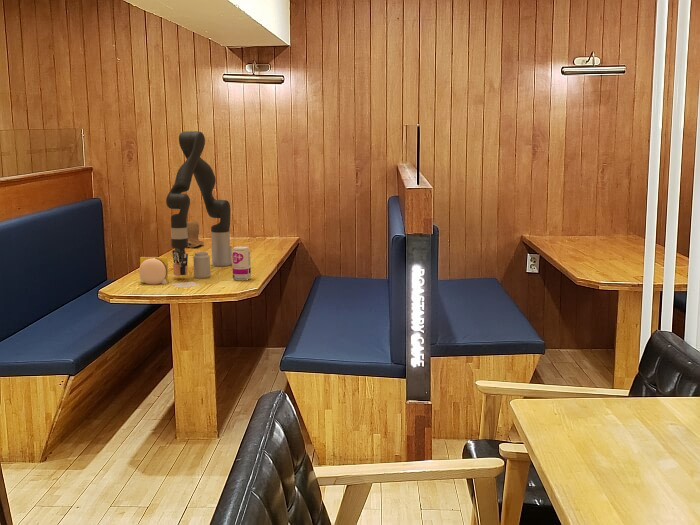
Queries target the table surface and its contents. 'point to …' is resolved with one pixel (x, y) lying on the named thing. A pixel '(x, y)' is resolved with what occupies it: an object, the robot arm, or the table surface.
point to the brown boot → (193, 234)
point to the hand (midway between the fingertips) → (180, 273)
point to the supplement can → (241, 263)
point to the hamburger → (153, 270)
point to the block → (177, 269)
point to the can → (201, 265)
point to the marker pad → (186, 284)
